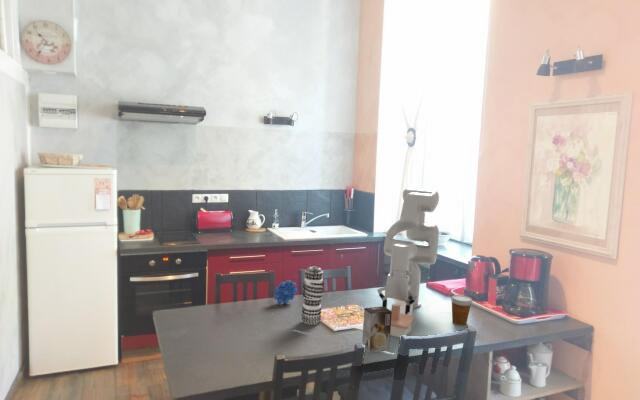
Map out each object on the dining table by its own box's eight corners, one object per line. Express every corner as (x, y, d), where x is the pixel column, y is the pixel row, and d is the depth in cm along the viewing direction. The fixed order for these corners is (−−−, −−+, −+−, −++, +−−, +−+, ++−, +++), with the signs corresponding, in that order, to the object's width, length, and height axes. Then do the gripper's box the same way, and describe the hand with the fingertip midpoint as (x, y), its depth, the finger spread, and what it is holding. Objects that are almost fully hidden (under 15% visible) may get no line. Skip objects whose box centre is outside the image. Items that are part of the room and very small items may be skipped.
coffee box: (381, 344, 191) (384, 305, 189) (389, 350, 185) (392, 311, 183) (361, 346, 187) (364, 307, 186) (369, 353, 182) (372, 313, 180)
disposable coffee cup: (445, 322, 220) (447, 297, 218) (454, 317, 227) (457, 293, 225) (464, 328, 213) (466, 302, 212) (473, 323, 220) (476, 298, 219)
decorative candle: (324, 321, 212) (328, 267, 209) (315, 328, 203) (319, 271, 200) (306, 317, 215) (309, 263, 212) (297, 323, 207) (300, 268, 204)
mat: (349, 316, 220) (349, 314, 220) (378, 322, 215) (378, 320, 215) (338, 325, 207) (338, 324, 207) (369, 332, 202) (369, 331, 202)
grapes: (293, 300, 238) (295, 277, 236) (297, 304, 231) (299, 281, 230) (271, 301, 234) (272, 278, 232) (274, 306, 227) (276, 282, 226)
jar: (401, 322, 217) (403, 296, 215) (389, 316, 223) (391, 291, 222) (415, 319, 222) (417, 294, 220) (403, 313, 228) (405, 289, 227)
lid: (383, 312, 213) (385, 297, 213) (414, 318, 208) (415, 303, 207) (374, 322, 201) (375, 306, 200) (407, 329, 195) (408, 312, 194)
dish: (384, 324, 213) (385, 313, 212) (410, 329, 208) (411, 318, 207) (376, 333, 202) (377, 322, 201) (404, 339, 197) (405, 328, 196)
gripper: (420, 274, 202) (417, 312, 204) (381, 267, 208) (378, 305, 211) (417, 278, 195) (413, 318, 197) (376, 271, 202) (373, 310, 204)
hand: (395, 311), depth 204 cm, fingers open, 9 cm apart
